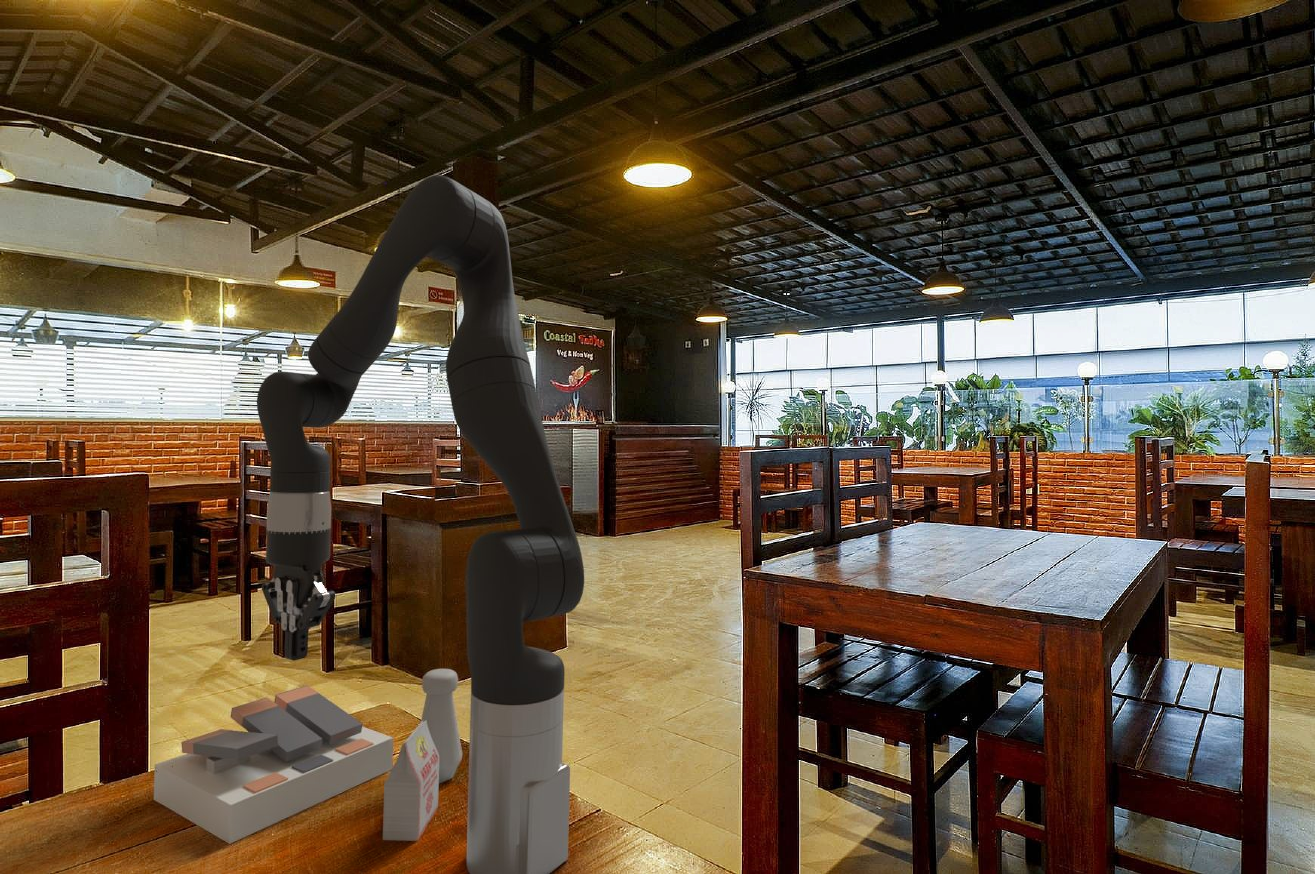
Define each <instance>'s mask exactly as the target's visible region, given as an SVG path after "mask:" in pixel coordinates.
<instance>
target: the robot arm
mask: <svg viewBox="0 0 1315 874" xmlns="http://www.w3.org/2000/svg"><path fill="white" fill-rule="evenodd" d="M508 236H509V235H508V231H507V226H506V223H505V220H504V218H503V215H502V213H501V211H500V210H499V209H498V208H497V207H496V206H495V205H493V203H491V201H489V200H487V199H485V198H484V197H482V196H481V195H480V194H477V193H476V192H474V191H473V190H471V189H469V188H467V186H465V185H462V184H461V183H459V182H457V181H456V180H454V179H452V178H450V177H448V176H445V175H441V174H436V175H430V176H428V177H426V178H424V179H422V180H421V181H420V182H418V183H417V184H416V185H415V186H414V188H413V189H412V190H411V191H410V192H409V193H408V195H407V196H406V197H405V199H404V200H403V202H402V204H401V205H400V207H399V208H398V210H397V212H396V214H395V215H394V217H393V219H392V221H391V222H390V224H389V226H388V227H387V230H386V232H385V233H384V235H383V236H382V238H381V240H380V242H379V243H378V245H377V247H376V248H375V251H374V253H373V255H372V256H371V258H370V259H369V262H368V264H367V265H366V268H365V269H364V271H363V272H362V275H361V276H360V278H359V280H358V282H357V284H356V285H355V287H354V289H353V291H352V292H351V293H350V295H349V296H348V298H347V299H346V301H345V302H344V303H343V305H342V306H341V307H340V309H339V310H338V311H337V312H336V314H335V315H333V317H332V318H331V319H330V321H329V322H328V323H327V324H326V326H324V328H323V329H322V330H321V332H320V333H319V334H318V335H317V337H315V339H314V341H313V342H312V343H311V344H310V346H309V348H308V352H307V359H308V361H309V364H310V365H311V367H312V368H313V370H315V372H316V373H315V374H312V373H311V374H310V373H299V372H292V371H277V372H273V373H271V374H269V375H268V376H267V377H265V379H264V380H263V381H262V383H261V384H260V386H259V389H258V392H257V395H256V410H257V413H258V417H259V423H260V426H261V430H262V433H263V436H264V439H265V444H266V448H267V453H268V454H269V455H268V456H269V461H270V475H269V476H270V477H269V479H270V481H269V498H268V503H267V507H266V509H267V511H266V537H265V538H266V541H265V542H266V545H265V562H266V563H267V564H269V565H270V566H274V568H273V572H272V577H273V578H272V579H271V580H270V581H267V582H263V583H262V584H261V591H262V593H263V596H264V599H265V601H266V603H267V604H266V605H267V606H268V609H269V611H270V614H271V617H272V620H273V623H275V624H279V623H280V625H281V626H280V627H281V629H282V630H283V631H284V658H285V659H287V660H290V661H293V662H294V661H298V660H302V659H306V657H307V656H308V651H309V647H308V646H309V630H310V629H312V628H314V627H318V626H320V625H321V624H322V621H323V620H324V618H325V616H326V614H327V613H328V611H329V609H330V608H331V606H332V605H333V603H334V600H335V599H336V592H335V591H334V590H327V588H325V586H324V585H323V584H324V579H325V578H324V573H323V568H322V567H323V564H324V563H325V562H328V561H329V560H330V558H331V540H332V539H331V535H332V534H331V532H332V531H331V529H332V527H331V526H332V504H331V495H330V494H331V493H330V490H331V489H330V488H331V457H330V453H329V452H328V450H327V449H325V448H323V447H321V446H317V445H313V444H311V443H309V442H308V440H307V437H306V434H305V432H304V428H315V429H317V428H319V429H320V428H326V427H328V426H329V427H330V426H331V425H333V424H334V423H336V422H338V421H339V420H340V419H341V418H342V417H343V416H344V415H345V413H346V412H347V410H348V408H349V407H350V405H351V402H352V399H353V398H354V395H355V392H356V391H357V389H358V385H359V383H360V380H361V378H362V376H363V375H364V374H365V373H366V372H367V371H368V370H369V368H370V367H371V366H372V365H373V364H374V363H375V362H376V361H377V359H378V358H379V357H380V356H381V355H382V354H383V352H384V351H386V348H387V347H388V346H389V345H390V343H391V341H392V339H393V336H394V335H395V332H396V328H397V324H398V316H399V309H400V308H399V306H400V299H401V294H402V290H403V286H404V284H405V281H406V280H407V278H409V275H410V274H411V273H412V272H413V270H414V269H415V268H416V267H417V266H418V265H419V264H420V263H421V262H422V261H423V260H425V259H426V258H429V259H432V260H434V261H435V262H438V263H440V264H441V265H444V266H446V267H449V268H451V269H452V271H453V272H454V274H455V276H456V278H457V281H458V284H459V288H460V293H461V298H462V304H463V314H462V318H461V321H460V324H459V326H458V328H457V331H456V332H455V334H454V336H453V338H452V341H451V344H450V346H449V349H448V352H447V356H446V361H445V373H446V374H445V375H446V382H447V386H448V391H449V398H450V403H451V408H452V413H453V417H454V421H455V422H456V424H457V427H458V429H459V430H460V433H461V434H462V436H463V437H464V438H465V440H466V441H467V442H468V444H469V445H470V447H472V449H473V450H474V451H475V452H476V454H477V455H478V456H479V457H480V458H481V460H482V461H484V463H485V464H486V465H487V466H488V467H489V468H490V469H491V471H492V472H493V473H494V475H495V476H496V477H497V478H498V479H499V481H500V483H501V484H502V485H503V487H504V488H505V490H506V491H507V493H508V495H509V498H510V500H511V501H512V504H513V506H514V511H515V513H516V516H517V520H518V523H519V526H520V528H519V529H517V528H515V529H504V530H496V531H495V530H494V531H489V532H485V533H483V534H481V535H479V536H478V537H477V538H476V540H474V542H473V544H472V545H471V547H470V550H469V552H468V557H467V562H466V569H465V606H466V609H465V610H466V611H465V613H466V653H467V661H468V666H469V672H470V681H471V682H470V711H469V712H470V715H469V716H470V718H469V719H470V720H469V743H468V744H469V753H468V755H469V756H468V787H467V788H468V789H467V790H468V791H467V792H468V793H467V822H466V823H467V827H466V828H467V831H466V868H467V872H468V873H469V874H550V873H552V872H553V871H554V870H556V869H557V868H559V866H561V865H562V864H563V863H564V862H566V861H567V860H569V829H570V828H569V825H570V791H571V790H570V789H571V788H570V787H571V785H570V784H571V783H570V782H571V767H570V766H569V765H568V764H566V763H563V747H564V746H563V742H564V741H563V740H564V739H563V738H564V736H563V735H564V702H565V701H564V700H565V699H564V698H565V676H566V675H565V673H566V672H565V664H564V661H563V660H562V658H561V657H560V656H559V655H557V654H556V653H553V652H552V651H549V650H546V649H542V648H537V647H533V646H528V645H527V646H526V645H525V640H524V639H525V638H524V628H523V626H524V625H523V623H526V622H531V621H532V622H533V621H537V620H538V621H539V620H542V619H543V620H544V619H547V618H553V617H557V616H561V615H565V614H568V613H571V612H572V611H573V610H575V609H576V608H577V606H578V605H579V603H580V602H581V599H582V597H583V593H584V588H585V568H584V561H583V555H582V552H581V548H580V544H579V540H578V536H577V534H576V531H575V528H574V525H573V521H572V518H571V516H570V513H569V510H568V507H567V504H566V501H565V498H564V494H563V492H562V489H561V486H560V483H559V479H558V477H557V474H556V471H555V468H554V463H553V459H552V455H551V452H550V447H549V444H548V439H547V436H546V431H545V428H544V424H543V423H544V422H543V420H542V419H543V418H542V414H541V409H540V404H539V399H538V393H537V387H536V383H535V378H534V376H533V371H532V367H531V366H532V365H531V362H530V358H529V355H528V352H527V348H526V343H525V340H524V334H523V330H522V329H523V328H522V324H521V320H520V316H519V309H518V305H517V301H516V296H515V295H516V294H515V290H514V289H515V288H514V281H513V273H512V271H513V269H512V263H511V262H512V261H511V260H512V259H511V253H510V245H509V244H510V243H509V237H508Z"/></svg>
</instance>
